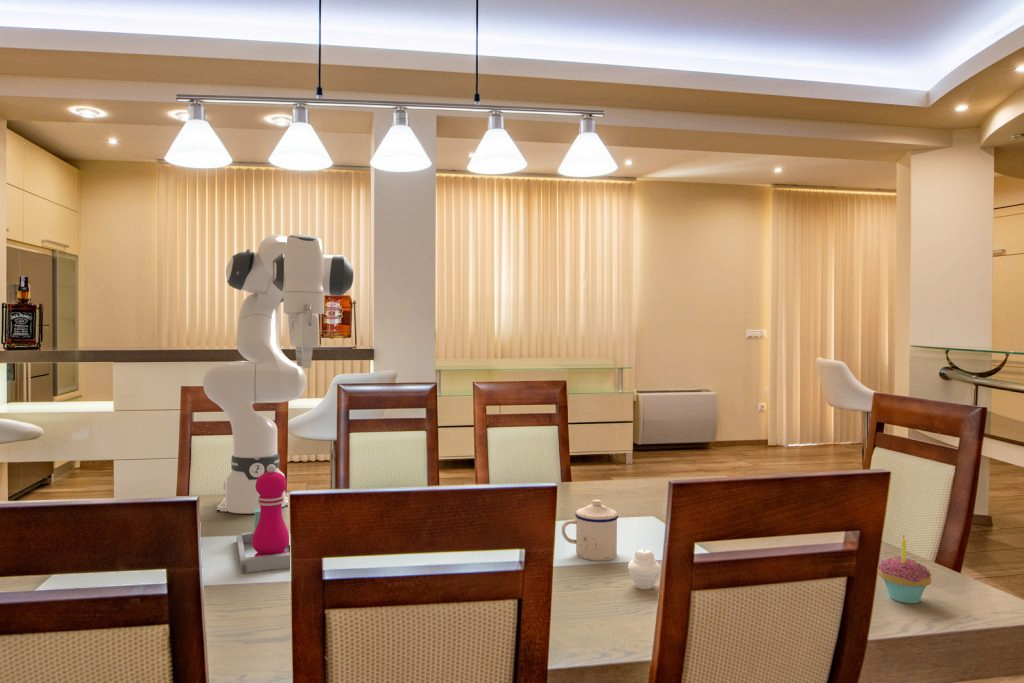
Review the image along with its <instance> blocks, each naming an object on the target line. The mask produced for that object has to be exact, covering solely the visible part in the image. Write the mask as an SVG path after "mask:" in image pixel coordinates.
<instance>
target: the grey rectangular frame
mask: <svg viewBox="0 0 1024 683" xmlns="http://www.w3.org/2000/svg"><path fill="white" fill-rule="evenodd" d="M260 511H261V510H260V508H259V509H255V513H254V523H253V524H254V529H253V531H249V532H240V533H236V545H237V546H236V547H237V554H238V560H239V566H240V573H241V574H247V573H248V572H249V573H256V571H257V572H264V571H263V570H265V571H271V570H270V569H273V570H281V569H287V568H291V567H290V552H287V553H281V554H273V555H264V556H255V555H254V556H255V557H254V556H249V557H246V552H245V545H244V544H246V543H247V544H248V543H252V538H253V534H254V532H255V529H256V527H257V525H258V522H259V519H260ZM287 530H288V533H289V528H288V527H287Z"/></svg>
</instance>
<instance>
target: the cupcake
mask: <svg viewBox="0 0 1024 683" xmlns="http://www.w3.org/2000/svg"><path fill="white" fill-rule="evenodd" d="M906 550H907V539H906V538H905V534H903V535H902V538H901V557H898V556H897V557H896V556H894V557H891V558H886V559H884V560H882V561H881V562H880V563H879V564H878V565H879V570H878V569H877V570H878V574H877V575H878V576H879V577H881V578H882V580H883V581H884V584H885V586H886V590H887V592H888V596H889V598H890V599H892V600H894V601H897V602H899V603H903V604H918V603H920V602H921V599H922V596H923V594H924V592H925V590H926V588H927V586H930V585H931V584H932V577H931V576H932V573H931V572H930V570H929V569H928V568H927V567H925V565H923V564H921V563H920V562H917V561H916V560H914V559H911V558H906V555H907V551H906Z"/></svg>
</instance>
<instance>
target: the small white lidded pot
mask: <svg viewBox="0 0 1024 683" xmlns="http://www.w3.org/2000/svg"><path fill="white" fill-rule="evenodd" d="M627 570H628V571H629V576H630V578H631V580H632V581H633V584H634V586H635V588H637V589H640V590H650V589H652V588H654V586H655V584H656V583H657V580H658V579H659V577H660V573H661V571H662V567H661V564H659V562H658V561H657V560H656V558H655V555H654V552H652V551H651V550H649V549H644V548H643V549H639V550H637V551H636V552H635V553H634V557H633V558H632V559H631V560H630V561H629V562H628V564H627Z"/></svg>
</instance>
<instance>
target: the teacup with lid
mask: <svg viewBox="0 0 1024 683" xmlns="http://www.w3.org/2000/svg"><path fill="white" fill-rule="evenodd" d="M574 515H575V516H574V517H575V519H569V520H566V521H564V522H563V524H562V525H561V534H562V537H563V538H564V540H565V541H566V542H568V543H570V544H575V553H576V555H577V557H579V558H581V559H584V560H588V561H594V562H601V561H602V562H603V561H610V560H613V559H614V558H616V557H617V554H618V553H617V551H618V550H617V549H618V546H617V545H618V519H619V514H618V513H617V511H616V510H614V509H612V508H609V507H608V506H607V505H604V504H602V500H601V499H593V500H592V501H591V504H588V505H586V506H585V507H580V508H578V509H577V510H576V511H575V514H574ZM572 524H573V525H575V526H576V527H575V528H576V530H575V531H576V532H575V533H576V534H575V535H576V536H575V538H576V539H572V538H569V537H568V536H567V534H566V527H567V526H568V525H572Z"/></svg>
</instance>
